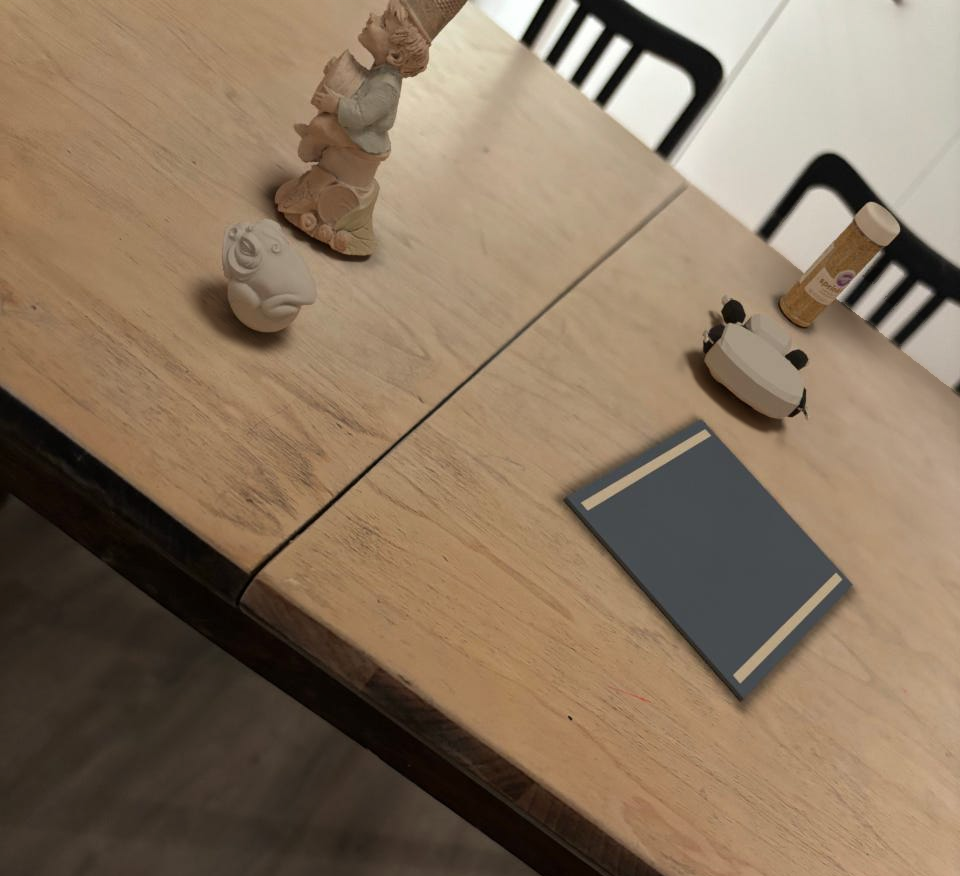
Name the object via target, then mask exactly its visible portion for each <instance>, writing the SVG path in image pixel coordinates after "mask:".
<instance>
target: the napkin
mask: <svg viewBox="0 0 960 876" xmlns="http://www.w3.org/2000/svg"><path fill="white" fill-rule="evenodd" d="M563 500H564V502H565V503H566V504H567V506H568V507H569V508H570V509H571V510H572V511H573V512H574V513H575V514H576V515H577V517H578V518H579V519H580V521H582V523H584V524H585V526H586V527H587V528H588V529H589V530H590V531H591V532H592V534H593V535H594V536H595V537H596V538H597V539H598V540H599V541H600V543H601V544H602V545H603V547H605V549H606V550H607V551H608V552H609V553H610V554H611V555H612V556H613V557H614V559H615V560H616V561H617V562H618V564H620V565H621V567H623V569H624V570H625V571H626V573H628V575H629V576H630V577H631V578H632V579H633V581H635V583H636V584H637V585H638V586H639V587H640V589H642V591H643V592H644V593H645V594H646V595H647V596H648V598H649V599H650V600H651V601H652V602H653V603H654V605H656V606H657V607H658V609H659V610H660V612H662V613H663V614H664V616H665V617H666V618H667V619H668V620H669V621H670V622H671V624H672V625H673V626H674V627H675V628H676V629H677V630H678V632H679V633H680V634H681V635H682V636H683V638H685V639H686V641H687V642H688V643H689V644H690V645H691V646H692V648H693V649H694V650H695V651H696V652H697V653H698V655H699V656H700V657H701V658H702V659H703V660H704V661H705V663H707V665H708V666H709V667H710V668H711V669H712V670H713V672H714V673H715V674H716V675H717V676H718V677H719V678H720V679H721V680H722V682H723V683H724V684H725V685H726V686H727V687H728V689H729V690H730V691H731V692H732V693H733V694H734V696H735V697H736V698H738V700H739V701H740V702H742V701H744V700H745V699H746V698H747V697H748V696H749V695H750V694H751V693H752V692H753V691H754V690H755V688H757V686H758V685H760V683H761V682H762V681H763V680H764V679H765V678H766V677H767V676H768V675H769V673H771V672H772V671H773V670H774V668H776V666H778V665H779V663H780V662H781V661H783V659H784V658H785V657H786V656H787V655H788V654H789V653H790V652H791V651H792V650H793V648H794V647H796V645H797V644H798V643H800V641H801V640H802V639H803V638H804V637H805V636H806V635H807V634H808V633H809V632H810V630H812V629H813V628H814V626H816V625H817V624H818V623H819V621H820V620H821V619H822V618H823V617H824V616H825V615H826V614H827V613H828V612H829V611H830V610H831V609H832V607H834V606H835V605H836V603H838V601H839V600H840V599H841V598H842V597H844V595H845V594H846V593H847V592H848V591H849V590H850V589H851V588H852V586H853V582H851V581H850V580H849V579H848V578H847V577H846V575H844V573H843V572H842V571H841V570H840V569H839V568H838V567H837V566H836V564H835V563H834V562H832V561H833V560H831V559H830V558H829V557H828V555H826V554H825V552H823V550H822V549H821V548H820V547H819V546H818V544H816V543H815V541H813V539H812V538H811V537H810V536H809V535H808V533H806V531H804V530H803V528H802V527H801V526H800V525H799V524H798V522H796V520H794V518H793V517H792V516H791V515H790V514H789V513H788V512H787V511H786V510H785V509H784V507H783V506H782V505H781V504H780V503H779V502H778V501H777V500H776V499H775V497H774V496H773V495H772V494H771V493H770V492H769V490H767V489H766V488H765V487H764V486H763V484H762V483H760V481H759V480H758V479H757V478H756V477H755V476H754V475H753V474H752V472H751V471H750V470H749V469H748V468H747V467H746V466H745V465H744V464H743V463H742V462H741V461H740V459H739V458H738V457H737V456H736V455H735V454H734V453H733V452H732V450H730V448H729V447H728V446H727V445H726V444H725V443H724V442H723V440H721V439H720V437H718V435H717V434H716V433H715V432H714V431H713V429H711V428H710V427H709V425H708V424H707V423H706V422H705V421H704V420H703V419H702V418H701V419H699V420H697V421H696V422H694V423H691V424H690V425H688V426H687V427H686V428H683V429H682V430H680V431H678V432H677V433H675V434H673V435H671V436H670V437H668V438H666V439H664V440H663V441H661V442H659V443H658V444H656V445H654V446H652V447H650V448H649V449H647V450H645V451H644V452H642V453H640V454H638V455H636V456H635V457H633V458H631V459H630V460H627V461H626V462H624V463H622V464H621V465H619V466H617V467H615V468H614V469H612V470H611V471H609V472H607V473H605V474H603V475H602V476H600V477H598V478H597V479H594V480H593V481H591V482H590V483H588V484H586V485H584V486H582V487H581V488H579V489H577V490H575V491H574V492H572V493H570V494H568V495H567V496H566V497H564V498H563Z"/></svg>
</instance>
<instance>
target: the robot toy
mask: <svg viewBox="0 0 960 876" xmlns="http://www.w3.org/2000/svg"><path fill="white" fill-rule="evenodd" d="M721 305H722V309H721V310H720V312H721V316H722V319H723V322H724V323H725V325H723V324H717V325H715V326H713V327H711V328H710V329H709V330H708V329H705V330H704V331H703V332H702V334H701V336H703V339H702V353H703V354H704V355H705V357H704V360H703V362H704V364H706V366H707V368H708V369H709V373H710V375H711V377H712V378H713V379H714V380H715V381H716V382H717V383H720V384H721V385H723V386H724V387H725V388H727V390H729V391H730V392H731V393H732V394H734V395H735V396H736V397H737V398H738V399H739V400H740V401H742V402H743V403H745V404H746V405H748V406H749V407H751V408H752V409H753V411H756V412H758V413H760V414H763V415H765V416H767V417H769V418H772V419H777V420H782V419H784V418H794V417H796V416H797V415H799V414H800V413H801V412H802V413H803V415H804V419H805V420H806V421H808V420H809V419H810V418H811V415H810V414H809V412H808V410H807V409H808V406H807V405H806V404H807V389H806V387H805V385H806V384H805V383H806V380H805V379H804V377H803V376H802V375H801V373H800V370H802V369H804V368H805V367H807V366H809V365H810V363H811V359H810V358H809V357H808V355H807V354H806V353H805V351H803V350H801V349H800V348H797V349H794V350H791V348H792V337H791V335H790V334H789V333H788V331H787V330H786V329H785V328H784V327H783V326H782V325H781V324H779V323H778V322H777V321H776V320H774V319H773V318H771V317H770V316H769V315H766V314H763V313H756V314H755V313H754V314H753V315H751V316H750V317H749V318H748V319H747V320H746V322H745V319H746V318H747V314H746V311H745V308H744V306H743V304H742V303H741V302H740V301H739V300H738V299H737V300H736V299H735V298H732V297H730V296H728V295H726V294H725V295H723V296H722V297H721ZM744 322H745V323H744ZM790 350H791V351H790Z"/></svg>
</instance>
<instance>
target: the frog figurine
mask: <svg viewBox="0 0 960 876" xmlns="http://www.w3.org/2000/svg"><path fill="white" fill-rule="evenodd" d="M221 250H222V251H221V262H222V271H223V277H224V278H226V279H227V280H228V281H227V298H228V299H227V300H228V303H229V305H230V308H231V310H232V312H233V313H234V315H235V316H236V318H237V319H238V320H239V321H240V322H241V323H242V324H243V325H244V326H246V327H247V328H250V329H251V330H254V331H256V332H261V333H275V332H279V331H281V330H283V329H285V328H287V327H289V326H290V325H291V324H292V323H293V322H294V321H295V320H296V318H297V317H298V315H299V314H300V311H301V308H302V306H311V305H313V304H315V303H316V299H317V294H318V293H317V284H316V281H315V278H314V277H313V275H312V273H311V271H310V269H309V266H308V265H307V263H306V261H305V260H304V258H303V256H302V254H301V252H300V251H299V250H298V247H296V246H295V245H294V244H293V243H292V242H291V241H290V239H288V237H287V236H286V234H285V233H283V231H282V228H281V225H280V224H279V223H278V222H276V221H274V219H271V218H270V219H269V218H262V219H260V220H257V221H256V222H254V223H251V222H250V221H240V222H231V223H229V224H228V225H227V226H226V228H225V229H224V232H223V239H222V249H221Z"/></svg>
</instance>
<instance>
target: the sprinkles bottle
mask: <svg viewBox="0 0 960 876" xmlns="http://www.w3.org/2000/svg"><path fill="white" fill-rule="evenodd" d="M900 232H901V227H900V223H899V222H898V221H897V219H896V218H895V217H894V215H893V214H892V213H890V211H888V210H887V209H886V208H885V207H884V206H882V205H880V204H879V203H877V202H875V201H869V202H867V203H865V204H864V206H862V208H861V209H859V210H858V212H857V213H856V214H855V215H854V217H853V218H852V220H851V222H850V223H849V224H848V225H847V226H846V228H845V229H843V231H842V232H841V233H840V234H839V235H838V236H837V238H836V239H834V240H833V241H832V242H831V243H830V244H829V245H828V247H826V249H824V251H823V252H822V253H821V254H820V255H819V256H818V257H817V259H815V261H813V263H812V264H811V265H810V267H808V268H807V269H806V270H805V272H804V273H803V274H802V275H801V276H800V277H799V279H798V281H796V283H795V284H794V285H793V287H791V288H790V289H789V290H788V292H787V293H786V294H785V295H783V296H782V297H781V298H780V299H779V306H780V309H781V310H782V312H783V314H784V315H785V316H786V318H788V319H789V320H790V321H791V322H793V323H794V324H796V325H798V326H800V327H803V328H808V327H810V326H811V325H812V324H813V323H814V321H815V320H816V319H817V318H818V317H819V315H821V313H822V312H824V310H825V309H827V307H829V305H831V304H832V303H833V302H834V301H835V300H836V299H837V298H838V297H839V296H840V295H841V294H842V293H843V291H844V290H845V289H846V288H847V287H848V286H849V285H850V284H851V282H852V281H853V280H854V279H856V277H857V276H858V275H859V274H860V273H861V272H862V271H863V269H865V268H866V267H867V265H868V264H869V263H870V262H871V261H872V260H873V259H874V258H875V257H876V256H877V255H878V254H879V253H880V252H881V250H883V249H884V248H885V247H887V246H889V245H890V244H891V242H893V240H895V238H896V237H897V236H898V235H899V234H900Z"/></svg>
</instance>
